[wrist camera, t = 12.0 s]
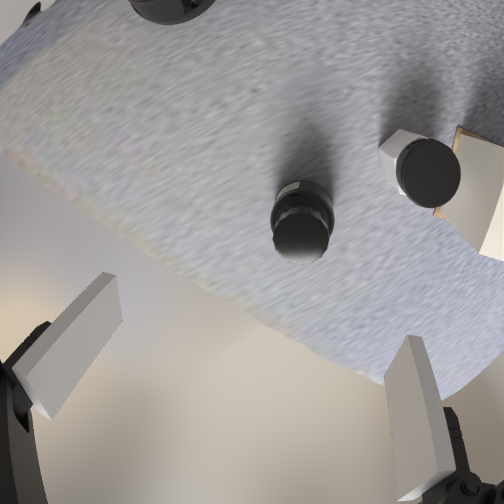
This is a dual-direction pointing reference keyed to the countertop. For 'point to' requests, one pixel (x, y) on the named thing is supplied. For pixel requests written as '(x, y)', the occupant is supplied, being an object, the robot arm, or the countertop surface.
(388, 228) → the countertop surface
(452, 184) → the jar
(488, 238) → the cover
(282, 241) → the ink bottle
